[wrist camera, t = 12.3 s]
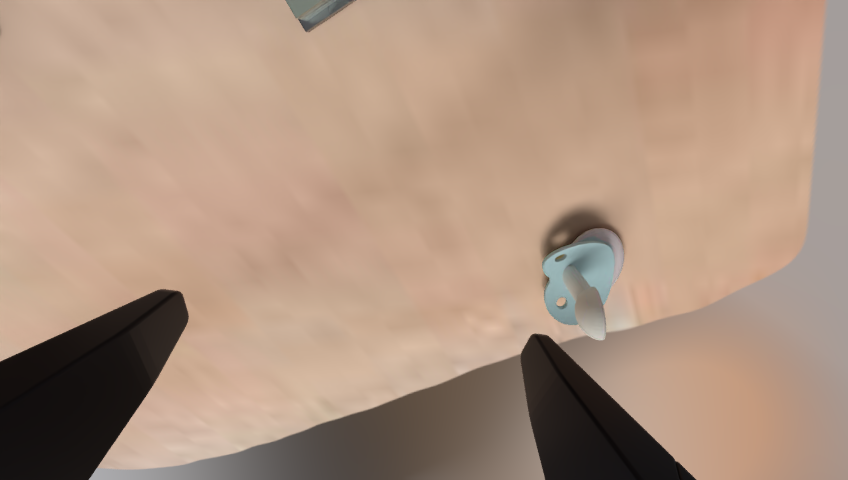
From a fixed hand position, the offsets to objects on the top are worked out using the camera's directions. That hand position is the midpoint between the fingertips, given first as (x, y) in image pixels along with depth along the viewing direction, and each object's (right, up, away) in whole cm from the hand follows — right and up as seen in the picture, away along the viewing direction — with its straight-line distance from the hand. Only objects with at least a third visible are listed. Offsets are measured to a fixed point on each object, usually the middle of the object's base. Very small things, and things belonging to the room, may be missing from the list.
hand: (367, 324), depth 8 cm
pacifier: (+13, +1, +15) cm, 20 cm away
